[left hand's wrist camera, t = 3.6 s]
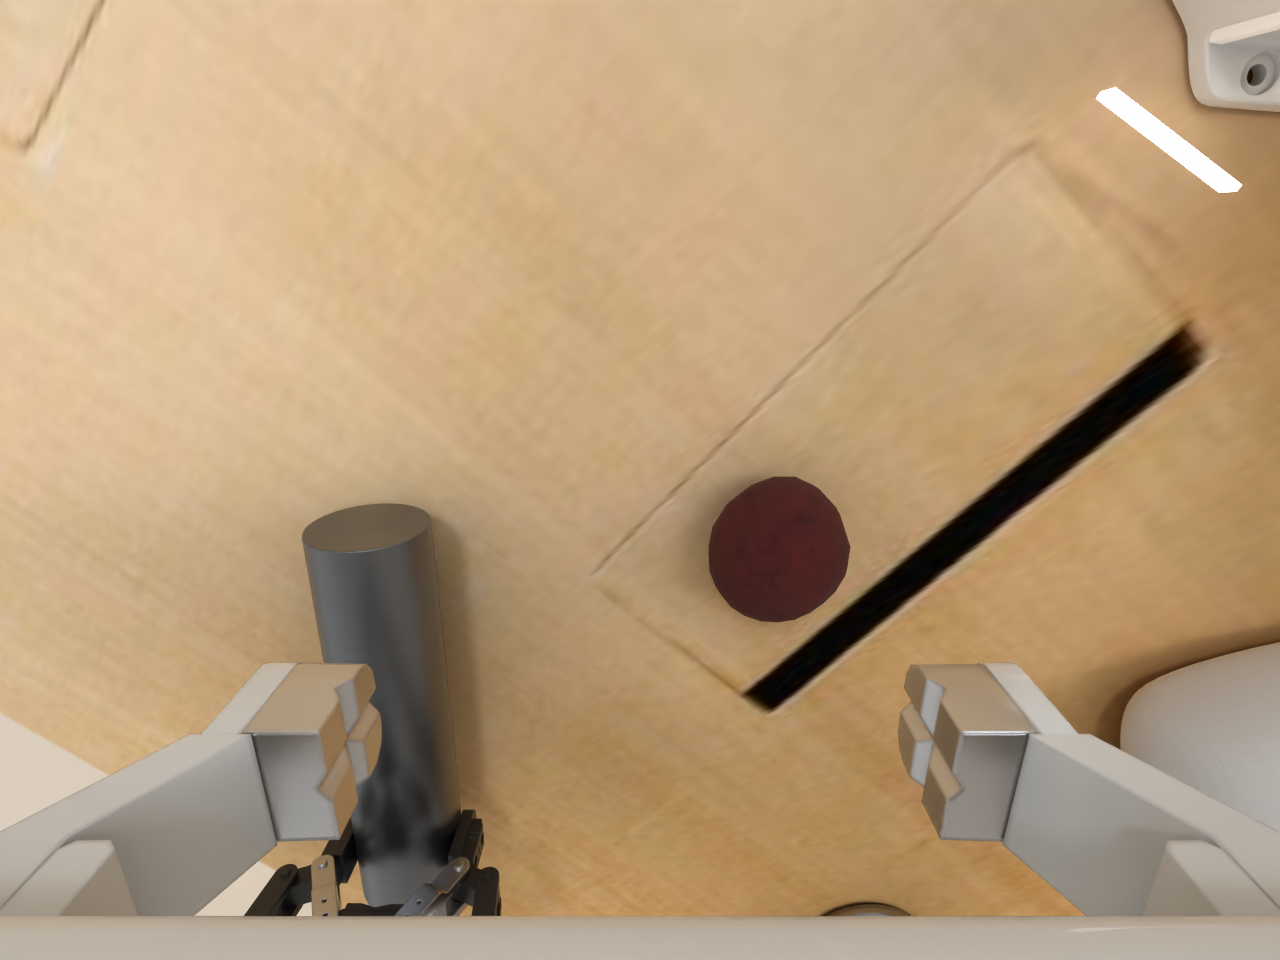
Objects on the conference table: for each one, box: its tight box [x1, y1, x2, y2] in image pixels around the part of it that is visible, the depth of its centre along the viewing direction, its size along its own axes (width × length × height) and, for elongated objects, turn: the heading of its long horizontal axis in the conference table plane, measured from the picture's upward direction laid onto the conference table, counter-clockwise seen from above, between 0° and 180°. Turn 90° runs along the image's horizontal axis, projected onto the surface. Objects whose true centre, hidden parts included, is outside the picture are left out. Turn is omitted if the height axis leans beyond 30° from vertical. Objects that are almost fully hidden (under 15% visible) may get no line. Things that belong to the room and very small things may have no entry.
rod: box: [302, 504, 461, 907], centre depth 39 cm, size 24×6×6 cm, turn 0°
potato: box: [709, 477, 850, 622], centre depth 37 cm, size 7×8×7 cm
